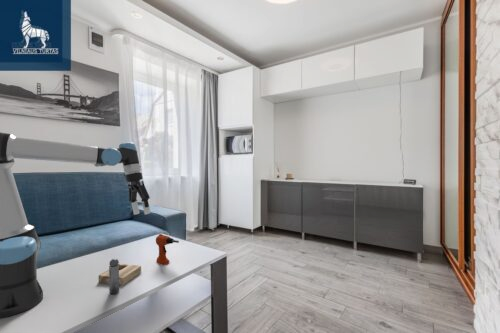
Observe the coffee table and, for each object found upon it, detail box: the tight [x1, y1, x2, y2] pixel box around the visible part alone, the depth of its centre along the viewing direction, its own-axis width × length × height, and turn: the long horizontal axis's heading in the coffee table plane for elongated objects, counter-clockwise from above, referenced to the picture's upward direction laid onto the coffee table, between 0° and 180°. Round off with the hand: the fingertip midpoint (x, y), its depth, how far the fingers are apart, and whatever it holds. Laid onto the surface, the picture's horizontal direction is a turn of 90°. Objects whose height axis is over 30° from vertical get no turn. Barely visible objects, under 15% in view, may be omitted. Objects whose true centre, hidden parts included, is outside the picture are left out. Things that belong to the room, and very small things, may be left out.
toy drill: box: [155, 233, 180, 266], centre depth 120 cm, size 5×19×15 cm, turn 53°
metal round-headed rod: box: [108, 258, 120, 296], centre depth 94 cm, size 3×3×14 cm
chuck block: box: [98, 263, 142, 286], centre depth 107 cm, size 12×12×3 cm
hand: (142, 214), depth 120 cm, fingers open, 13 cm apart
